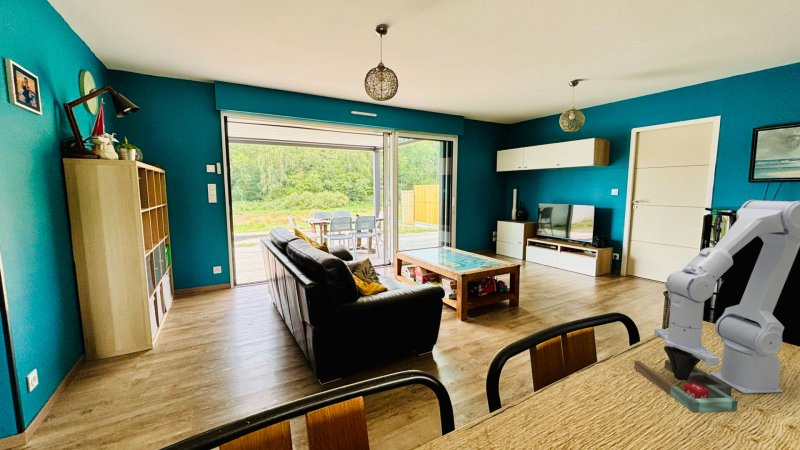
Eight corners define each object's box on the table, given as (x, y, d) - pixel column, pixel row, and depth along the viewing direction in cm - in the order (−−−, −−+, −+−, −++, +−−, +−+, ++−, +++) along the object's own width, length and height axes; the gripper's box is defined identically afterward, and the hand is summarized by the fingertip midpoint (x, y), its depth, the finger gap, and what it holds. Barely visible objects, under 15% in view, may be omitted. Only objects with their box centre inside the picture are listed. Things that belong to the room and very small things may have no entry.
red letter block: (683, 396, 74) (684, 383, 73) (693, 394, 74) (694, 381, 74) (697, 404, 71) (699, 391, 70) (708, 402, 71) (709, 389, 71)
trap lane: (682, 367, 85) (683, 359, 85) (753, 410, 69) (754, 400, 68) (634, 368, 85) (634, 360, 85) (693, 412, 68) (694, 402, 68)
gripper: (644, 312, 82) (640, 363, 84) (698, 338, 68) (692, 399, 69) (671, 311, 82) (667, 362, 84) (730, 337, 68) (725, 397, 69)
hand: (680, 378), depth 76 cm, fingers closed
